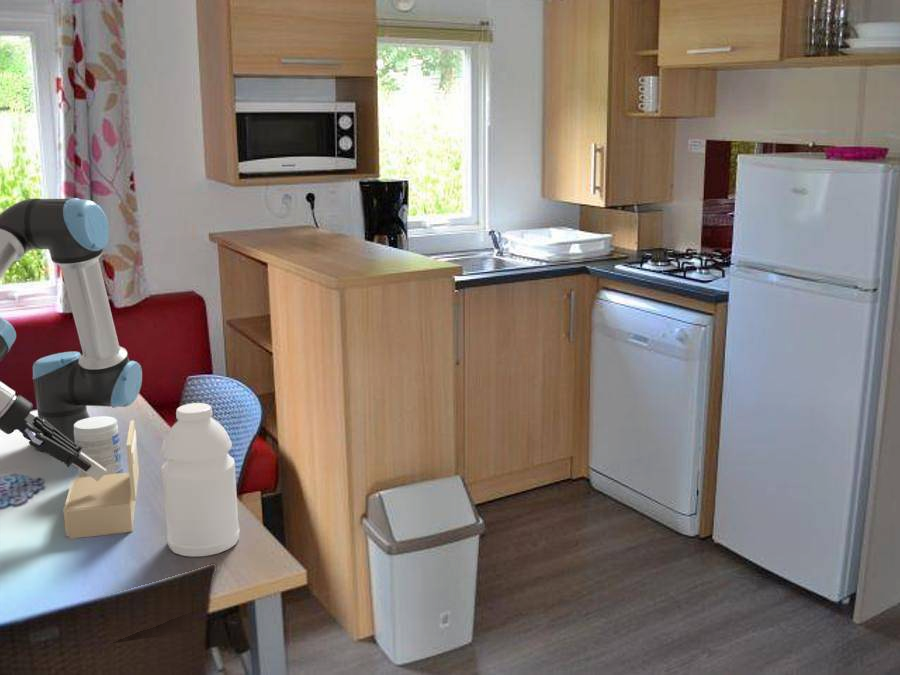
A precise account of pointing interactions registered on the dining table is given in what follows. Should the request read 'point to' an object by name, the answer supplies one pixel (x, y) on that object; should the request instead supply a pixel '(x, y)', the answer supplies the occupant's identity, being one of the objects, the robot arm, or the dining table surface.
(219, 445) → the bottle
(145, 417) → the dining table surface
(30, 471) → the dining table surface
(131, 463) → the flap
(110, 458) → the supplement tub
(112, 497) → the carton
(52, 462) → the dining table surface
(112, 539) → the dining table surface
